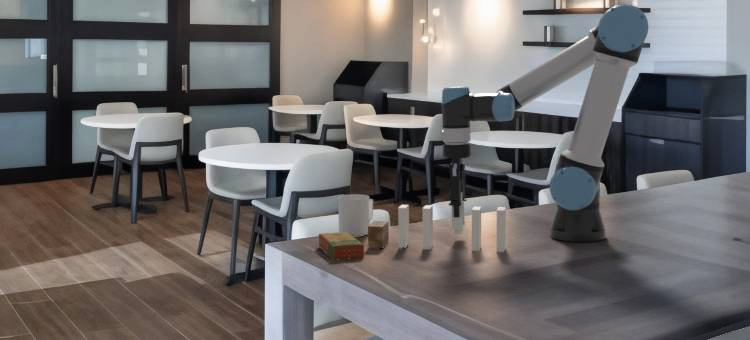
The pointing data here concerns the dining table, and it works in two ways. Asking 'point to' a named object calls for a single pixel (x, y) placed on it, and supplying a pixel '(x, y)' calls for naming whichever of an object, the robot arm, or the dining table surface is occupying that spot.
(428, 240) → the domino
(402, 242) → the domino
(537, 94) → the robot arm
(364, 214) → the mug
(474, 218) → the domino
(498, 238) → the domino
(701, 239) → the dining table surface
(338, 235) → the carton
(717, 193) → the dining table surface
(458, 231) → the domino
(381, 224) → the block
